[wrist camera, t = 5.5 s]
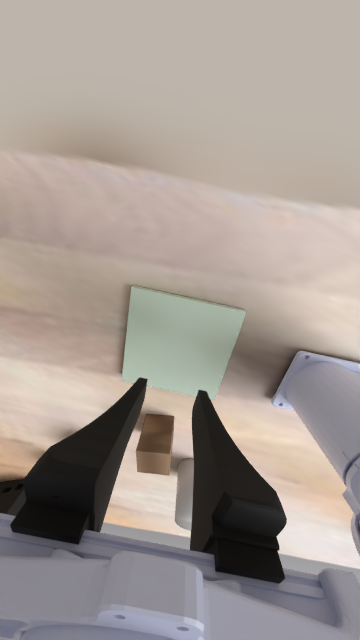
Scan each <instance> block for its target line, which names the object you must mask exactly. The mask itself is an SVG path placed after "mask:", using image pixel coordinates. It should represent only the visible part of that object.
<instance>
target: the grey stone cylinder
mask: <svg viewBox="0 0 360 640" xmlns="http://www.w3.org/2000/svg"><path fill="white" fill-rule="evenodd" d="M193 479H194V459H186V460H183V461H182V462H180V463H179V465H178V478H177V494H176V510H175V522H176V523H177V525H179V526H180V527H182V528H184V529H187V530H191V525H192V505H193Z"/></svg>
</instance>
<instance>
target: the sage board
mask: <svg viewBox="0 0 360 640" xmlns="http://www.w3.org/2000/svg"><path fill="white" fill-rule="evenodd" d="M246 313H247V312H246V311H245V310H244V309H240V308H236V307H231V306H226V305H222V304H217V303H213V302H208V301H203V300H199V299H194V298H190V297H185V296H181V295H176V294H171V293H167V292H162V291H158V290H153V289H148V288H144V287H139V286H135V285H134V286H132V287H131V293H130V303H129V313H128V323H127V333H126V342H125V352H124V362H123V372H122V381H126V382H130V383H135V382H136V381H137V379H138V378H140V377H141V378H146V379H148V380H147V386H149V387H154V388H159V389H164V390H168V391H173V392H178V393H183V394H187V395H192V396H197V393H198V390H203V391H207V393H208V395H209V398H210V399H211V400H215V398H216V395H217V392H218V389H219V387H220V384H221V381H222V378H223V376H224V373H225V370H226V368H227V365H228V362H229V359H230V357H231V354H232V351H233V348H234V346H235V343H236V340H237V338H238V335H239V332H240V329H241V327H242V324H243V321H244V318H245V316H246Z"/></svg>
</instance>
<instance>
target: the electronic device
mask: <svg viewBox="0 0 360 640" xmlns="http://www.w3.org/2000/svg"><path fill="white" fill-rule="evenodd" d="M26 501H27V500H26V495H25V491H24V479H22V480H14V481H6V482H0V513H2V514H7V515H12V516H16V515H17V514H18V512H19V511H20V509H21V508H22V506H23V505H24V504H25V502H26Z"/></svg>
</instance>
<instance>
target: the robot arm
mask: <svg viewBox="0 0 360 640" xmlns="http://www.w3.org/2000/svg"><path fill="white" fill-rule="evenodd" d="M305 356H307V357H305ZM147 380H148V379H146V378H141V377H140V378H138V379H137V381H136V382H135V383H134V384H133V386H132V387H131V388H130V389H129V390H128V391H127V392H126V393H125V394H124V395H123V396H122V397H121V398H120V399H119V400H118V401H117V402H116V403H115V404H114V405H113V406H112V407H111V408H109V409H108V410H107V411H106V412H105V413H103V414H102V415H101V416H99V417H98V418H97V419H95V420H94V421H93V422H91V423H90V424H88V425H87V426H85V427H84V428H82V429H80V430H79V431H77V432H76V433H74V434H73V435H71V436H69V437H67V438H66V439H64V440H62V441H60V442H58V443H56V444H55V445H53V446H51V447H50V448H49V449H48V450H47V451H46V452H45V453H44V454H43V455H42V457H41V458H40V459H39V460H38V461H37V463H36V464H35V465H34V466H33V468H32V469H31V470H30V472H29V473H28V475H27V476H26V477H25V479H24V491H25V495H26V500H27V501H26V502H25V504H24V505H23V506H22V508H21V509H20V511H19V512H18V514H17V515H16V516H12V515H7V514H2V513H0V640H360V584H359V582H358V580H357V578H356V576H355V575H354V574H353V573H351V572H347V571H342V570H337V569H331V568H327V569H323V570H321V571H320V572H319V573H318V575H315V574H309V573H304V572H299V571H294V570H289V569H284V568H282V565H281V562H280V559H279V555H278V551H277V550H279V544H278V541H277V537H276V536H277V535H278V534H279V533H280V532H281V531H282V529H283V528H284V527H285V525H286V520H287V518H286V516H285V513H284V510H283V507H282V505H281V502H280V500H279V498H278V495H277V493H276V491H275V490H274V489H273V488H272V487H271V486H270V485H269V484H268V483H267V482H266V481H265V480H264V479H263V478H262V477H261V476H260V474H259V473H258V472H257V471H256V470H255V469H254V468H253V466H252V465H251V464H250V463H249V462H248V460H247V459H246V458H245V457H244V455H243V454H242V453H241V451H240V450H239V449H238V447H237V446H236V445H235V443H234V442H233V440H232V439H231V437H230V436H229V434H228V433H227V431H226V429H225V427H224V426H223V424H222V422H221V420H220V419H219V417H218V415H217V413H216V411H215V409H214V407H213V404H212V402H211V400H210V398H209V395H208V393H207V391H203V390H198V393H197V397H196V400H195V403H194V406H193V411H192V435H193V453H194V479H193V505H192V525H191V542H190V543H191V544H190V550H186V549H181V548H176V547H171V546H166V545H160V544H155V543H150V542H145V541H140V540H135V539H130V538H125V537H119V536H115V535H109V534H105V533H100V530H101V527H102V524H103V521H104V517H105V514H106V510H107V507H108V504H109V501H110V497H111V494H112V491H113V487H114V484H115V481H116V478H117V475H118V471H119V468H120V465H121V462H122V459H123V456H124V452H125V449H126V447H127V444H128V441H129V439H130V436H131V434H132V432H133V429H134V427H135V424H136V422H137V419H138V417H139V414H140V412H141V408H142V405H143V402H144V398H145V392H146V386H147ZM271 402H272V405H273V406H276V407H280V408H285V409H290V410H295V411H296V413H297V414H298V416H299V417H300V419H301V420H302V422H303V423H304V425H305V426H306V427H307V429H308V430H309V432H310V433H311V435H312V436H313V438H314V439H315V441H316V442H317V444H318V445H319V447H320V448H321V450H322V451H323V453H324V454H325V456H326V457H327V458H328V460H329V461H330V463H331V464H332V466H333V467H334V469H335V470H336V472H337V473H338V475H339V476H340V478H341V479H342V481H343V482H344V484H345V485H346V487H347V488H346V491H345V492H344V493H343V497H344V498H345V500H346V501H347V503H348V505H349V506H350V508H351V509H352V511H353V512H354V514H353V516H352V519H351V531H352V536H353V540H354V543H355V546H356V548H357V551H358V553H359V555H360V363H356V362H352V361H347V360H342V359H338V358H333V357H329V356H324V355H319V354H315V353H310V352H305V351H299V352H297V354H296V355H295V357H294V359H293V361H292V363H291V365H290V367H289V369H288V371H287V372H286V374H285V376H284V378H283V380H282V382H281V384H280V386H279V388H278V390H277V391H276V393H275V395H274V397H273V399H272V401H271ZM279 403H280V404H279Z"/></svg>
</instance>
